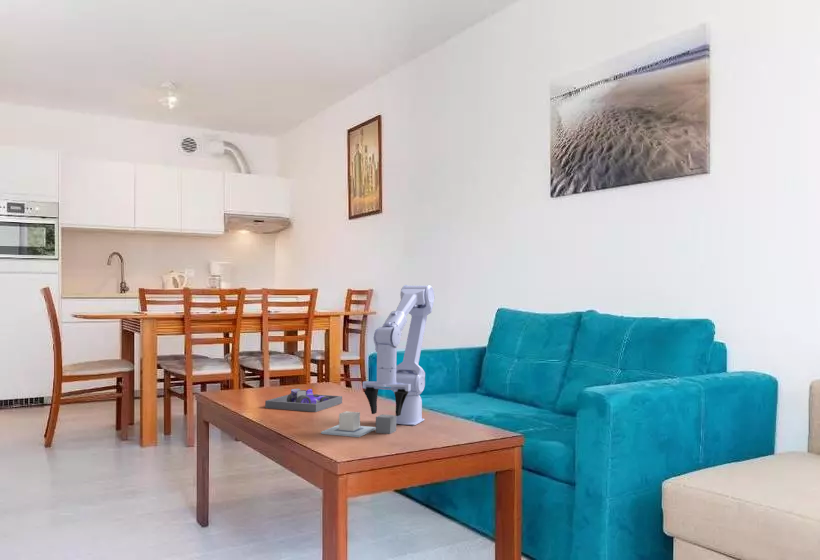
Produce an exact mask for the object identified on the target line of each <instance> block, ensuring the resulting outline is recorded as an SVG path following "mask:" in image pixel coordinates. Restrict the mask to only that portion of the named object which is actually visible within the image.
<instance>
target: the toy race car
mask: <svg viewBox="0 0 820 560" xmlns="http://www.w3.org/2000/svg"><path fill="white" fill-rule="evenodd" d="M313 394H314V392H313V389H312V388H309V389H307V390H306V389H300V388H298V387H297V388H291V389H290V393H289V394H287V395H288V397H287V402H295V403H308V404H316V403H320V402H323V401H326V400H329V399H330V398H329V397H326V396H321V395H322V394H318V393H317V394H316V393H315V395H313Z"/></svg>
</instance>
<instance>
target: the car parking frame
mask: <svg viewBox="0 0 820 560" xmlns="http://www.w3.org/2000/svg"><path fill="white" fill-rule="evenodd" d="M315 394H316V393H315ZM315 394H314V393H313V395H315ZM288 395H289V394H286V395H282V396H278V397H274V398H270V399H267V400H265V405H264V408H265V409H275V410H286V411H287V410H289V411H298V412H311V413H317V412H320V411H323V410H326V409H328V408H332V407H334V406H337V405H338V406H339V405H340V404H343V396H342V395H330V394H329V395H327V394H320V395H321V396H326V397H329V398H330V399H329V400H326V401H323V402H320V403H316V404H308V403H295V402H287V397H288Z"/></svg>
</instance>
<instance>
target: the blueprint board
mask: <svg viewBox="0 0 820 560" xmlns="http://www.w3.org/2000/svg"><path fill="white" fill-rule="evenodd" d="M373 431H376V426H368V425H367V426H365V425H360V428H359V429H357V430H355V431H347V430H339V424H337V425H334V426H332V427H329V428H326V429H325V430H324V429H323V430H322V431H320V432H321V433H320V434H323V435H330V436H331V435H332V436H341V437H342V436H343V437H351V438H352V437H353V438H361V437H362V436H364V435H365V436H366V435H367V434H370V433H372V432H373Z"/></svg>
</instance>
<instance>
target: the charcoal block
mask: <svg viewBox="0 0 820 560" xmlns="http://www.w3.org/2000/svg"><path fill="white" fill-rule="evenodd" d="M375 427H376V430H375V433H376V434H386V435H388V434H389V435H391V434H393V433H395V432H397V424H396V414H380V415H377V416H375Z"/></svg>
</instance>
